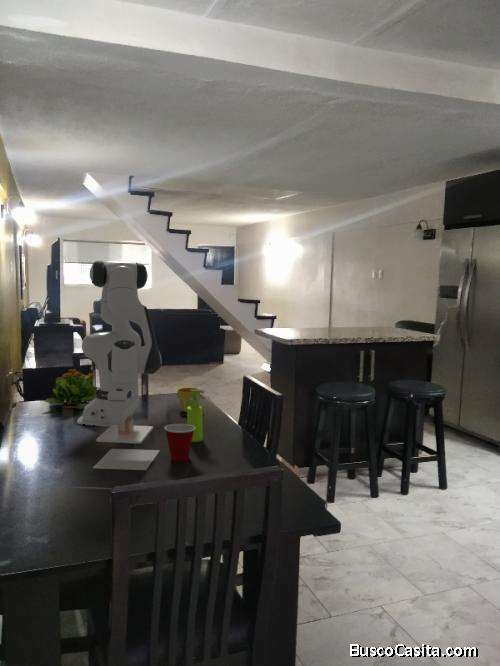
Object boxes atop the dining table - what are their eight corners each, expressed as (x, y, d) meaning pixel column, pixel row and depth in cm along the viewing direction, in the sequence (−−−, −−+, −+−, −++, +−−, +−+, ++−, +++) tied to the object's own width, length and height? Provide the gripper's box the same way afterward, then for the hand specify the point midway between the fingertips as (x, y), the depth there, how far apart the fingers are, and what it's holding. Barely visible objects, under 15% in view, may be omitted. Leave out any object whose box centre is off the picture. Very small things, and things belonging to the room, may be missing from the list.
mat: (92, 469, 165) (92, 468, 165) (111, 450, 183) (111, 448, 183) (146, 471, 164) (146, 470, 164) (159, 451, 182) (159, 450, 182)
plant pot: (194, 406, 242) (194, 386, 241) (203, 411, 233) (203, 390, 232) (174, 409, 237) (173, 388, 236) (182, 414, 228) (182, 393, 227)
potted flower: (48, 416, 224) (46, 378, 221) (39, 404, 244) (37, 368, 241) (104, 408, 237) (103, 372, 235) (91, 397, 257) (90, 363, 254)
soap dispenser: (202, 443, 190) (202, 392, 188) (185, 442, 192) (184, 391, 189) (207, 438, 196) (206, 388, 193) (190, 437, 197) (189, 387, 195)
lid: (96, 441, 166) (96, 426, 165) (112, 426, 181) (112, 412, 180) (140, 443, 165) (140, 428, 164) (153, 428, 180) (153, 414, 179)
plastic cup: (201, 457, 177) (201, 424, 175) (185, 468, 167) (184, 433, 165) (175, 452, 181) (175, 420, 180) (158, 462, 172) (157, 428, 170)
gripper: (126, 381, 181) (126, 418, 183) (105, 396, 161) (106, 437, 163) (143, 381, 180) (143, 418, 182) (124, 397, 160) (125, 438, 162)
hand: (125, 427), depth 172 cm, fingers closed on lid, 4 cm apart
